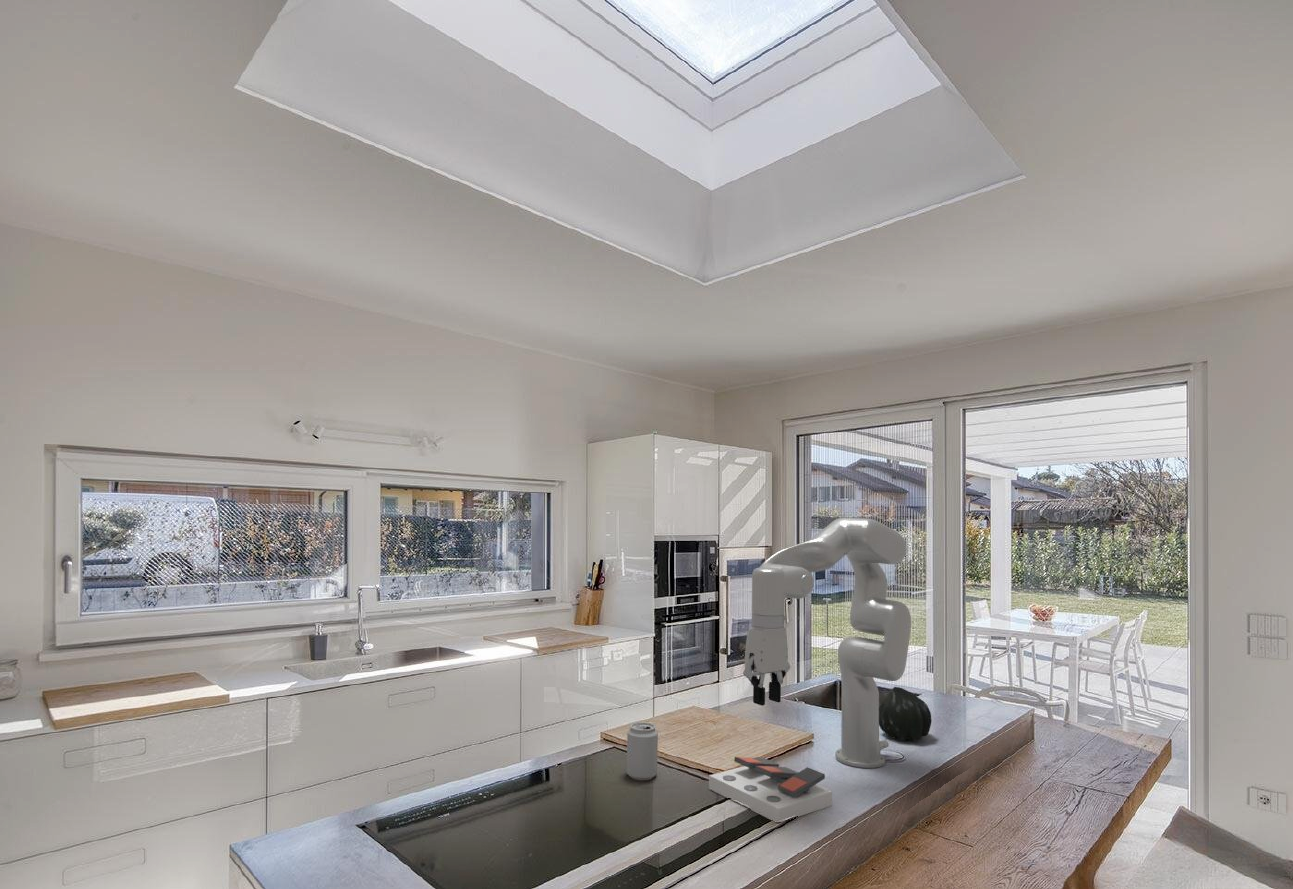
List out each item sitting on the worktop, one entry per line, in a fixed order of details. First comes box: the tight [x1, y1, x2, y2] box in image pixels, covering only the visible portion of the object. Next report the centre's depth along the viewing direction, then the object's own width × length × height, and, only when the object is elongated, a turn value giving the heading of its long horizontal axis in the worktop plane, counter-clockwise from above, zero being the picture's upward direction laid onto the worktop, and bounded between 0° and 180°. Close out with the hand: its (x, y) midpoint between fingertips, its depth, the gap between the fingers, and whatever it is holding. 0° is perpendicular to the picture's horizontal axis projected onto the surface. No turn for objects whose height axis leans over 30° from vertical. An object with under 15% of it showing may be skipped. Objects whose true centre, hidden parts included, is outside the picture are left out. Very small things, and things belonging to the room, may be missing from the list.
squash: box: [879, 686, 932, 742], centre depth 213 cm, size 14×15×15 cm
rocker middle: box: [755, 766, 800, 778], centre depth 169 cm, size 10×5×1 cm, turn 126°
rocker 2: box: [777, 766, 826, 797], centre depth 164 cm, size 10×5×1 cm, turn 126°
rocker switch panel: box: [708, 765, 833, 822], centre depth 167 cm, size 17×22×4 cm
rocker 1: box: [733, 756, 780, 768], centre depth 175 cm, size 10×5×1 cm, turn 126°
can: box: [625, 721, 659, 781], centre depth 178 cm, size 8×8×12 cm
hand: (766, 701), depth 168 cm, fingers open, 4 cm apart
